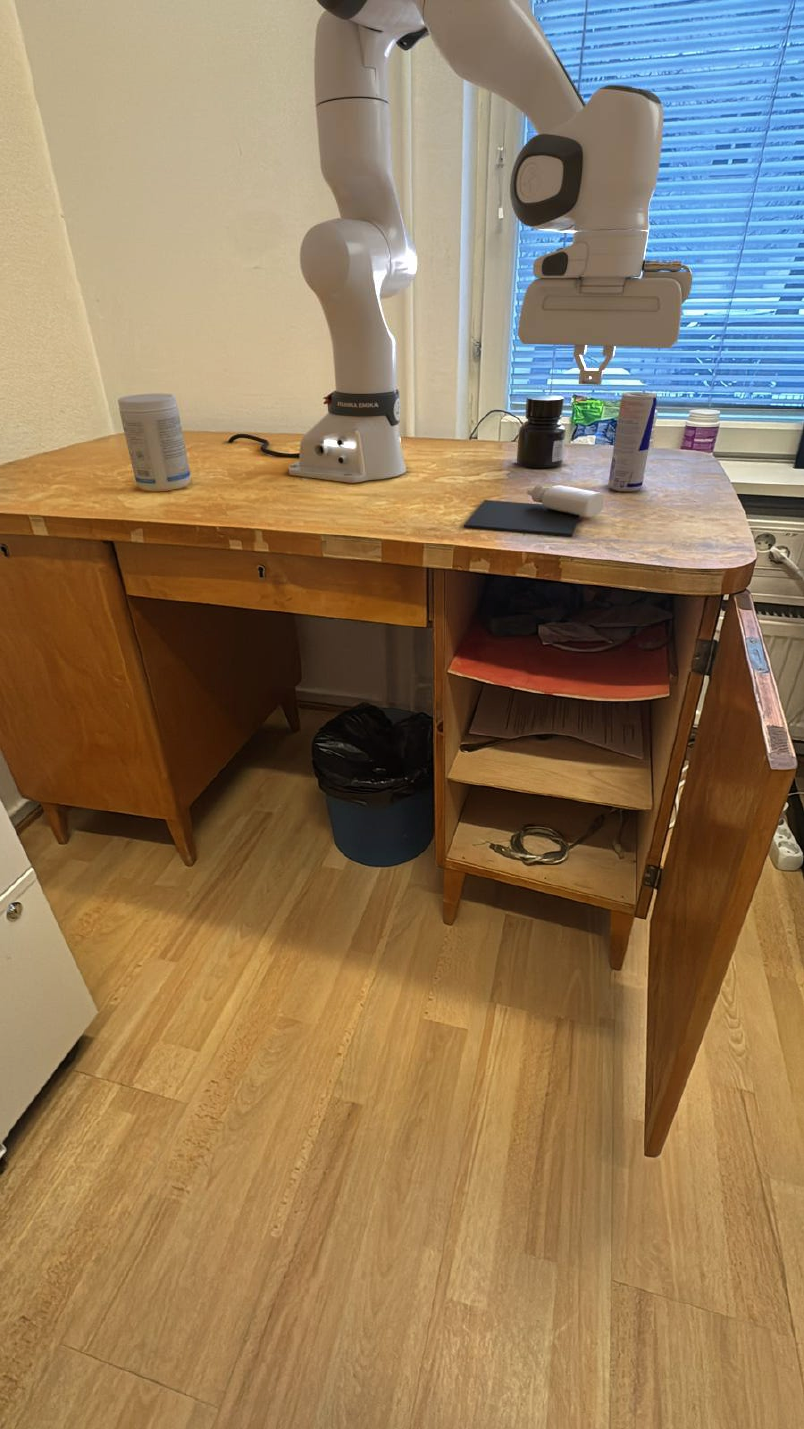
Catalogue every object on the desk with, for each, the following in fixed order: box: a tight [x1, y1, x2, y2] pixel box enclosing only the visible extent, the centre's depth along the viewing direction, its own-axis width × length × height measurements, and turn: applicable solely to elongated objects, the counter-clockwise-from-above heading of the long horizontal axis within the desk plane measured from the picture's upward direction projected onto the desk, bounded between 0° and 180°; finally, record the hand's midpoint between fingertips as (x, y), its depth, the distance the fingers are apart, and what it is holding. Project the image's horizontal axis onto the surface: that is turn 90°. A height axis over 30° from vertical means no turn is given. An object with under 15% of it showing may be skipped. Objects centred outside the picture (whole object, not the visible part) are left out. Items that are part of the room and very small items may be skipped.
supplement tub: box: [117, 393, 192, 492], centre depth 119 cm, size 10×10×15 cm
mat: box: [463, 499, 581, 538], centre depth 103 cm, size 16×14×1 cm
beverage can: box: [607, 391, 658, 493], centre depth 114 cm, size 6×6×15 cm
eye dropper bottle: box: [526, 484, 606, 518], centre depth 105 cm, size 4×6×12 cm
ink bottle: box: [516, 394, 566, 469], centre depth 131 cm, size 10×9×12 cm
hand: (589, 384), depth 92 cm, fingers closed
